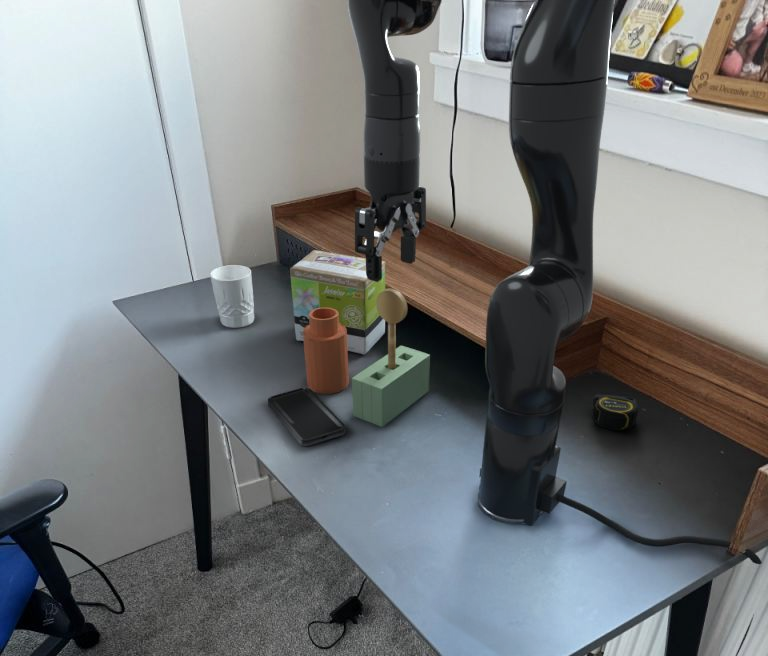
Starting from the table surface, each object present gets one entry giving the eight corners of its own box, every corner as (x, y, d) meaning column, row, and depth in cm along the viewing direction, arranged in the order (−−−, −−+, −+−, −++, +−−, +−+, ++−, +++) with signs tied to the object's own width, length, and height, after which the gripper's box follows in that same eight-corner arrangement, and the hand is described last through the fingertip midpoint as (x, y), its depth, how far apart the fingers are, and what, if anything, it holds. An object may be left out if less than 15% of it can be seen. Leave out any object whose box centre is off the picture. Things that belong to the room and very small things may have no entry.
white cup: (254, 329, 143) (247, 280, 137) (214, 329, 143) (206, 280, 137) (259, 312, 149) (253, 264, 143) (221, 312, 149) (214, 264, 143)
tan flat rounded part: (406, 406, 120) (408, 292, 108) (402, 409, 120) (403, 295, 107) (381, 397, 123) (380, 284, 110) (377, 400, 122) (375, 287, 109)
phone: (307, 386, 123) (347, 427, 113) (308, 391, 124) (347, 433, 114) (264, 398, 120) (301, 441, 110) (265, 404, 121) (302, 448, 111)
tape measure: (633, 414, 118) (638, 394, 116) (634, 437, 113) (640, 416, 110) (591, 409, 119) (595, 389, 117) (590, 431, 114) (594, 411, 112)
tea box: (294, 342, 139) (287, 266, 129) (318, 321, 146) (313, 247, 136) (366, 356, 134) (364, 278, 125) (386, 333, 141) (386, 258, 132)
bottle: (356, 380, 127) (354, 311, 119) (331, 398, 123) (326, 327, 114) (325, 369, 130) (320, 300, 122) (299, 386, 126) (292, 315, 118)
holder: (428, 391, 124) (430, 354, 120) (382, 427, 116) (381, 388, 111) (400, 381, 127) (401, 345, 122) (353, 415, 118) (351, 378, 114)
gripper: (383, 168, 90) (384, 293, 101) (444, 144, 99) (438, 261, 109) (336, 159, 94) (341, 280, 104) (399, 137, 102) (398, 251, 113)
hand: (391, 270), depth 107 cm, fingers open, 8 cm apart
